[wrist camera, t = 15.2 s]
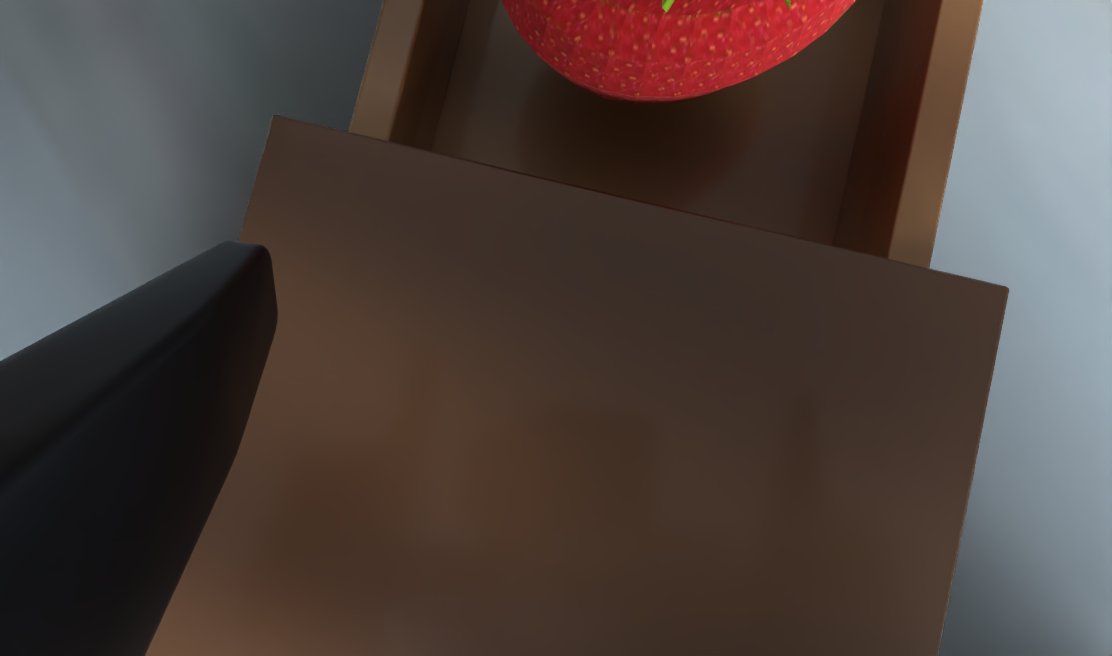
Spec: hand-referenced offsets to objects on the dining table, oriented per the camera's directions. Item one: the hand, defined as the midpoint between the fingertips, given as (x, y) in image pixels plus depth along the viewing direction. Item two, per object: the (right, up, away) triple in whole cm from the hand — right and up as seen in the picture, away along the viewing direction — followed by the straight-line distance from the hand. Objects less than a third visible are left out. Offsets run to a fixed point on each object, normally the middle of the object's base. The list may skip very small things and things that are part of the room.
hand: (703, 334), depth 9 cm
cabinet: (-2, -6, +13) cm, 14 cm away
